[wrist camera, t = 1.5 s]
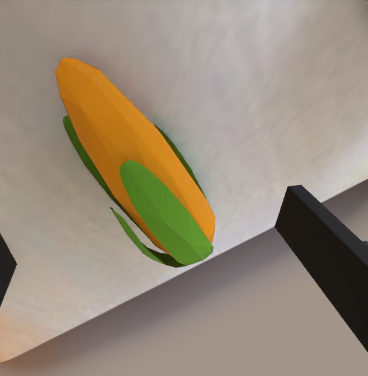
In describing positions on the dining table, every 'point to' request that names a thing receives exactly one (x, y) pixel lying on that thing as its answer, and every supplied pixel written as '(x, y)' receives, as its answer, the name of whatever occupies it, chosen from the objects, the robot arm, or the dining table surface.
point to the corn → (136, 167)
